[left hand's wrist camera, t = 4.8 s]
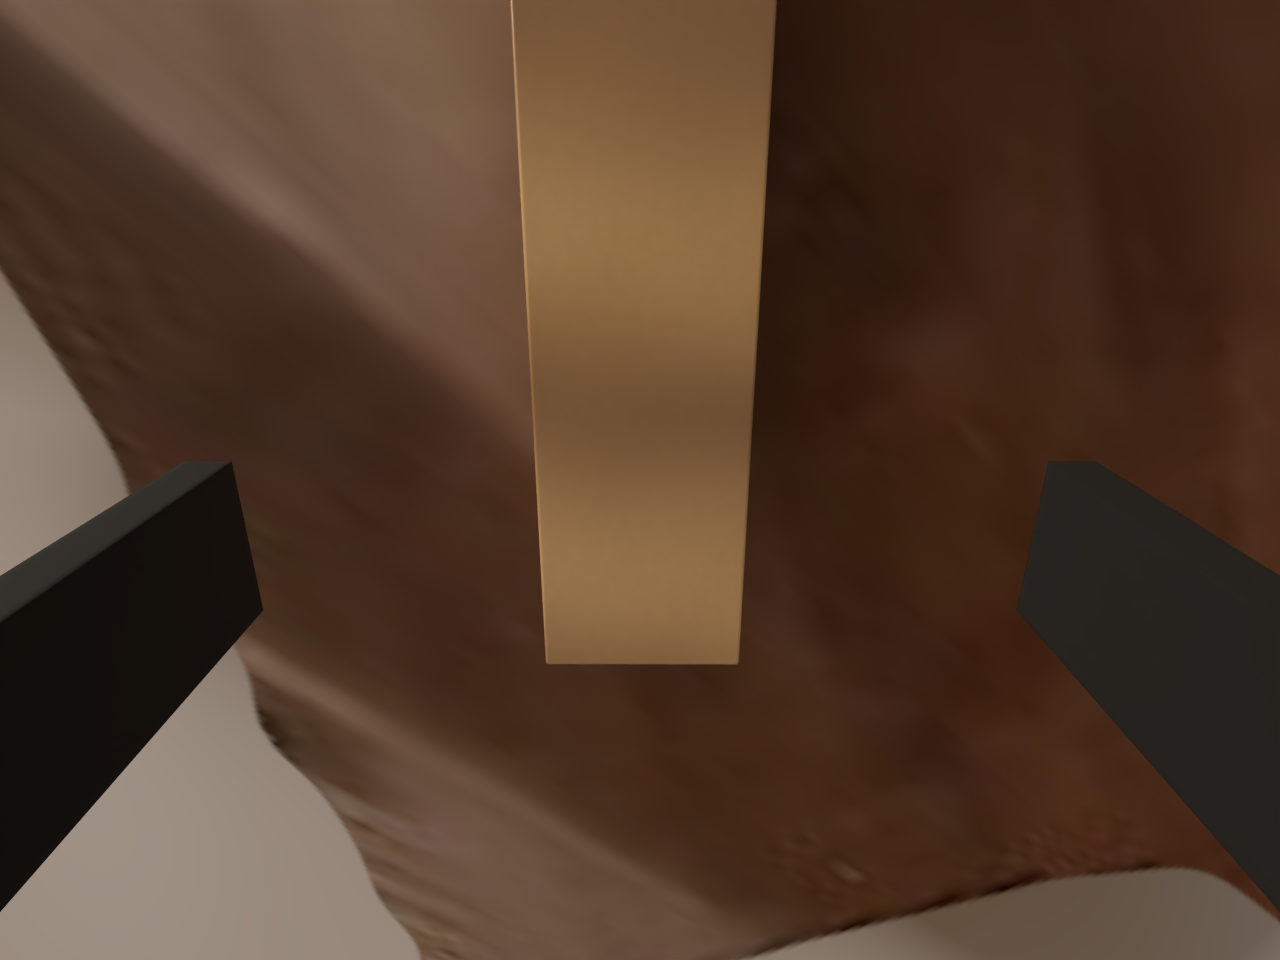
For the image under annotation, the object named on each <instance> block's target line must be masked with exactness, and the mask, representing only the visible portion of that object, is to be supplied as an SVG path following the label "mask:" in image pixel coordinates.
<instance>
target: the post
mask: <svg viewBox="0 0 1280 960" xmlns="http://www.w3.org/2000/svg"><path fill="white" fill-rule="evenodd" d="M776 10H777V0H510V12H511V31H512V49H513V67H514V86H515V104H516V122H517V141H518V159H519V177H520V196H521V214H522V232H523V251H524V269H525V287H526V306H527V324H528V342H529V361H530V379H531V397H532V416H533V434H534V452H535V471H536V489H537V507H538V526H539V544H540V562H541V581H542V599H543V617H544V636H545V654H546V662H547V664H738V662H739V652H740V635H741V617H742V600H743V583H744V565H745V548H746V531H747V513H748V496H749V478H750V461H751V444H752V426H753V409H754V392H755V374H756V357H757V340H758V322H759V305H760V288H761V270H762V253H763V236H764V218H765V201H766V183H767V166H768V149H769V131H770V114H771V97H772V79H773V62H774V45H775V27H776Z"/></svg>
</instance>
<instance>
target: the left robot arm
mask: <svg viewBox="0 0 1280 960" xmlns="http://www.w3.org/2000/svg"><path fill="white" fill-rule="evenodd" d="M262 611H263V607H262V602H261V598H260V593H259V588H258V583H257V579H256V574H255V569H254V565H253V560H252V555H251V551H250V546H249V541H248V536H247V532H246V527H245V522H244V518H243V513H242V508H241V504H240V499H239V494H238V489H237V485H236V480H235V475H234V471H233V466H232V462H182V463H181V464H179V465H178V466H176V467H174V468H173V469H171V470H170V471H168V472H166V473H165V474H163V475H162V476H160V477H158V478H157V479H155V480H154V481H152V482H150V483H149V484H147V485H146V486H144V487H142V488H141V489H139V490H138V491H136V492H134V493H133V494H131V495H129V496H128V497H126V498H125V499H123V500H122V501H120V502H118V503H117V504H115V505H113V506H112V507H110V508H109V509H107V510H105V511H104V512H102V513H101V514H99V515H97V516H96V517H94V518H93V519H91V520H89V521H88V522H86V523H85V524H83V525H81V526H80V527H78V528H77V529H75V530H73V531H72V532H70V533H68V534H67V535H65V536H64V537H62V538H60V539H59V540H57V541H56V542H54V543H52V544H51V545H49V546H48V547H46V548H44V549H43V550H41V551H40V552H38V553H36V554H35V555H33V556H32V557H30V558H28V559H27V560H25V561H24V562H22V563H20V564H19V565H17V566H15V567H14V568H12V569H11V570H9V571H7V572H6V573H4V574H3V575H1V576H0V911H1V910H2V909H3V908H4V907H5V906H6V905H7V903H8V902H9V901H10V900H11V899H12V898H13V897H14V895H15V894H16V893H17V892H18V891H19V890H20V889H21V887H22V886H23V885H24V884H25V883H26V882H27V881H28V879H29V878H30V877H31V876H32V875H33V874H34V872H35V871H36V870H37V869H38V868H39V867H40V866H41V864H42V863H43V862H44V861H45V860H46V859H47V858H48V856H49V855H50V854H51V853H52V852H53V851H54V850H55V848H56V847H57V846H58V845H59V844H60V843H61V841H62V840H63V839H64V838H65V837H66V836H67V835H68V833H69V832H70V831H71V830H72V829H73V828H74V827H75V825H76V824H77V823H78V822H79V821H80V820H81V818H82V817H83V816H84V815H85V814H86V813H87V812H88V810H89V809H90V808H91V807H92V806H93V805H94V804H95V802H96V801H97V800H98V799H99V798H100V797H101V796H102V794H103V793H104V792H105V791H106V790H107V789H108V787H109V786H110V785H111V784H112V783H113V782H114V781H115V779H116V778H117V777H118V776H119V775H120V774H121V773H122V771H123V770H124V769H125V768H126V767H127V766H128V765H129V763H130V762H131V761H132V760H133V759H134V758H135V757H136V755H137V754H138V753H139V752H140V751H141V750H142V749H143V747H144V746H145V745H146V744H147V743H148V742H149V741H150V739H151V738H152V737H153V736H154V735H155V734H156V732H157V731H158V730H159V729H160V728H161V727H162V726H163V724H164V723H165V722H166V721H167V720H168V719H169V718H170V716H171V715H172V714H173V713H174V712H175V711H176V710H177V708H178V707H179V706H180V705H181V704H182V703H183V702H184V700H185V699H186V698H187V697H188V696H189V695H190V693H191V692H192V691H193V690H194V689H195V688H196V687H197V685H198V684H199V683H200V682H201V681H202V680H203V679H204V677H205V676H206V675H207V674H208V673H209V672H210V670H211V669H212V668H213V667H214V666H215V665H216V664H217V662H218V661H219V660H220V659H221V658H222V657H223V656H224V654H225V653H226V652H227V651H228V650H229V649H230V648H231V646H232V645H233V644H234V643H235V642H236V641H237V640H238V638H239V637H240V636H241V635H242V634H243V633H244V632H245V630H246V629H247V628H248V627H249V626H250V625H251V623H252V622H253V621H254V620H255V619H256V618H257V617H258V615H259V614H260V613H261V612H262ZM1017 611H1018V612H1019V613H1020V614H1021V615H1022V617H1023V618H1024V619H1025V620H1026V621H1027V622H1028V623H1029V625H1030V626H1031V627H1032V628H1033V629H1034V630H1035V632H1036V633H1037V634H1038V635H1039V636H1040V637H1041V638H1042V640H1043V641H1044V642H1045V643H1046V644H1047V645H1048V646H1049V648H1050V649H1051V650H1052V651H1053V652H1054V653H1055V654H1056V656H1057V657H1058V658H1059V659H1060V660H1061V661H1062V662H1063V664H1064V665H1065V666H1066V667H1067V668H1068V669H1069V671H1070V672H1071V673H1072V674H1073V675H1074V676H1075V677H1076V679H1077V680H1078V681H1079V682H1080V683H1081V684H1082V685H1083V687H1084V688H1085V689H1086V690H1087V691H1088V692H1089V693H1090V695H1091V696H1092V697H1093V698H1094V699H1095V700H1096V702H1097V703H1098V704H1099V705H1100V706H1101V707H1102V708H1103V710H1104V711H1105V712H1106V713H1107V714H1108V715H1109V716H1110V718H1111V719H1112V720H1113V721H1114V722H1115V723H1116V724H1117V726H1118V727H1119V728H1120V729H1121V730H1122V731H1123V732H1124V734H1125V735H1126V736H1127V737H1128V738H1129V739H1130V741H1131V742H1132V743H1133V744H1134V745H1135V746H1136V747H1137V749H1138V750H1139V751H1140V752H1141V753H1142V754H1143V755H1144V757H1145V758H1146V759H1147V760H1148V761H1149V762H1150V763H1151V765H1152V766H1153V767H1154V768H1155V769H1156V770H1157V772H1158V773H1159V774H1160V775H1161V776H1162V777H1163V778H1164V780H1165V781H1166V782H1167V783H1168V784H1169V785H1170V786H1171V788H1172V789H1173V790H1174V791H1175V792H1176V793H1177V794H1178V796H1179V797H1180V798H1181V799H1182V800H1183V801H1184V802H1185V804H1186V805H1187V806H1188V807H1189V808H1190V809H1191V811H1192V812H1193V813H1194V814H1195V815H1196V816H1197V817H1198V819H1199V820H1200V821H1201V822H1202V823H1203V824H1204V825H1205V827H1206V828H1207V829H1208V830H1209V831H1210V832H1211V833H1212V835H1213V836H1214V837H1215V838H1216V839H1217V840H1218V842H1219V843H1220V844H1221V845H1222V846H1223V847H1224V848H1225V850H1226V851H1227V852H1228V853H1229V854H1230V855H1231V856H1232V858H1233V859H1234V860H1235V861H1236V862H1237V863H1238V864H1239V866H1240V867H1241V868H1242V869H1243V870H1244V871H1245V872H1246V874H1247V875H1248V876H1249V877H1250V878H1251V879H1252V881H1253V882H1254V883H1255V884H1256V885H1257V886H1258V887H1259V889H1260V890H1261V891H1262V892H1263V893H1264V894H1265V895H1266V897H1267V898H1268V899H1269V900H1270V901H1271V902H1272V903H1273V905H1274V906H1275V907H1276V908H1277V909H1278V910H1279V911H1280V576H1279V575H1277V574H1276V573H1274V572H1273V571H1271V570H1269V569H1268V568H1266V567H1265V566H1263V565H1261V564H1260V563H1258V562H1257V561H1255V560H1253V559H1252V558H1250V557H1249V556H1247V555H1245V554H1244V553H1242V552H1240V551H1239V550H1237V549H1236V548H1234V547H1232V546H1231V545H1229V544H1228V543H1226V542H1224V541H1223V540H1221V539H1220V538H1218V537H1216V536H1215V535H1213V534H1212V533H1210V532H1208V531H1207V530H1205V529H1204V528H1202V527H1200V526H1199V525H1197V524H1195V523H1194V522H1192V521H1191V520H1189V519H1187V518H1186V517H1184V516H1183V515H1181V514H1179V513H1178V512H1176V511H1175V510H1173V509H1171V508H1170V507H1168V506H1167V505H1165V504H1163V503H1162V502H1160V501H1159V500H1157V499H1155V498H1154V497H1152V496H1151V495H1149V494H1147V493H1146V492H1144V491H1142V490H1141V489H1139V488H1138V487H1136V486H1134V485H1133V484H1131V483H1130V482H1128V481H1126V480H1125V479H1123V478H1122V477H1120V476H1118V475H1117V474H1115V473H1114V472H1112V471H1110V470H1109V469H1107V468H1106V467H1104V466H1102V465H1101V464H1099V463H1098V462H1048V466H1047V471H1046V475H1045V480H1044V485H1043V489H1042V494H1041V499H1040V504H1039V508H1038V513H1037V518H1036V522H1035V527H1034V532H1033V536H1032V541H1031V546H1030V551H1029V555H1028V560H1027V565H1026V569H1025V574H1024V579H1023V583H1022V588H1021V593H1020V598H1019V602H1018V607H1017Z"/></svg>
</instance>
